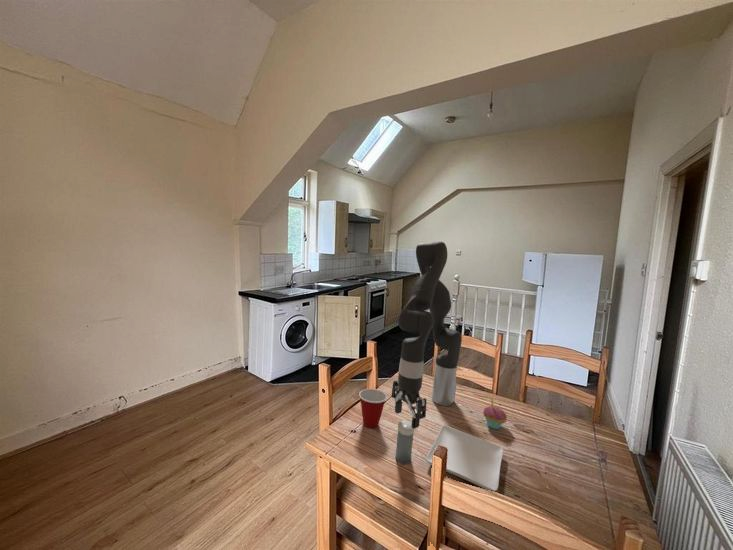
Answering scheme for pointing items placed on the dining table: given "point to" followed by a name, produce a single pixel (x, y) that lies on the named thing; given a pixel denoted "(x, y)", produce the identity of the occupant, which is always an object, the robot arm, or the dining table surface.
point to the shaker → (404, 442)
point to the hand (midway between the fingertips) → (406, 419)
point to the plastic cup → (372, 406)
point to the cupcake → (494, 416)
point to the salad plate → (470, 457)
